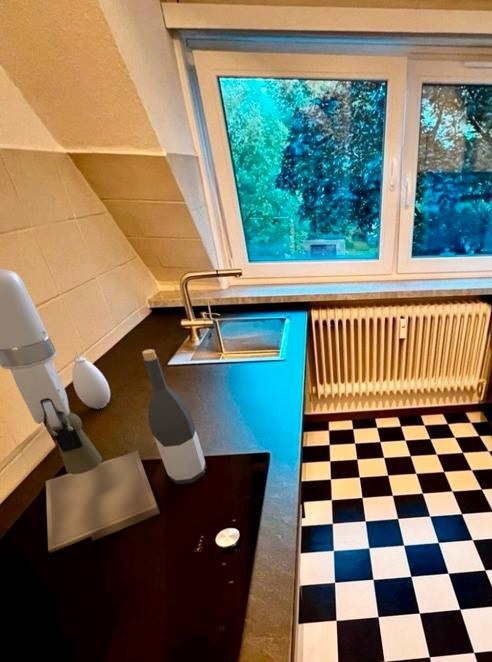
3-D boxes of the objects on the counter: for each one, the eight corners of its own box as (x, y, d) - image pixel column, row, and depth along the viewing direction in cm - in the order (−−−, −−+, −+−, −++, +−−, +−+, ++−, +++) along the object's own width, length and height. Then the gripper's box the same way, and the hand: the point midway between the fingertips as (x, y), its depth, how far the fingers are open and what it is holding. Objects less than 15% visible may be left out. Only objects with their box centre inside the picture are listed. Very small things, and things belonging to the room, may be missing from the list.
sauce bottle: (80, 407, 112) (53, 350, 102) (109, 397, 117) (86, 341, 107) (91, 417, 108) (63, 358, 98) (120, 406, 113) (97, 348, 103)
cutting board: (53, 557, 69) (47, 550, 68) (49, 487, 84) (45, 480, 83) (160, 513, 78) (157, 506, 77) (139, 457, 93) (137, 450, 92)
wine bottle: (211, 477, 87) (175, 353, 70) (173, 490, 83) (125, 364, 67) (202, 458, 92) (167, 339, 76) (166, 469, 89) (121, 348, 73)
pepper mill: (102, 451, 79) (81, 405, 73) (100, 468, 74) (77, 421, 68) (68, 459, 77) (43, 413, 71) (64, 477, 72) (36, 429, 66)
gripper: (-1, 340, 67) (47, 426, 77) (-8, 377, 55) (49, 473, 65) (51, 331, 70) (90, 414, 80) (55, 363, 59) (100, 456, 68)
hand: (71, 440), depth 72 cm, fingers closed on pepper mill, 5 cm apart
